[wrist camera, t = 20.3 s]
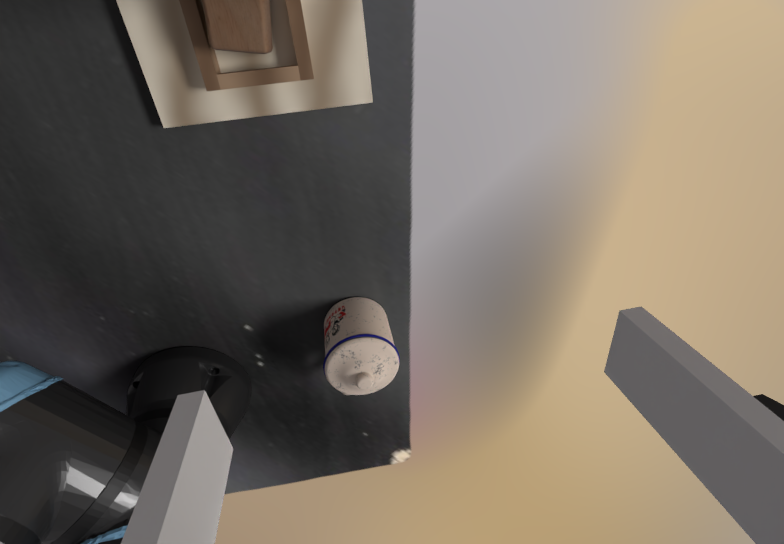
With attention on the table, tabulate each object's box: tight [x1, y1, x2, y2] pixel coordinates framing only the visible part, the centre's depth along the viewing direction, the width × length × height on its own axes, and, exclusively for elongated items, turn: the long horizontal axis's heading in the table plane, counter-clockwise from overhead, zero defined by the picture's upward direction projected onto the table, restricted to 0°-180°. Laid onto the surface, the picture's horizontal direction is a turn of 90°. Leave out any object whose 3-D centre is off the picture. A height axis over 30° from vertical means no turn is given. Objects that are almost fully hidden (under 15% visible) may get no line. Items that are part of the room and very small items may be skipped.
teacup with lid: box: [323, 297, 400, 395], centre depth 50 cm, size 12×9×12 cm
